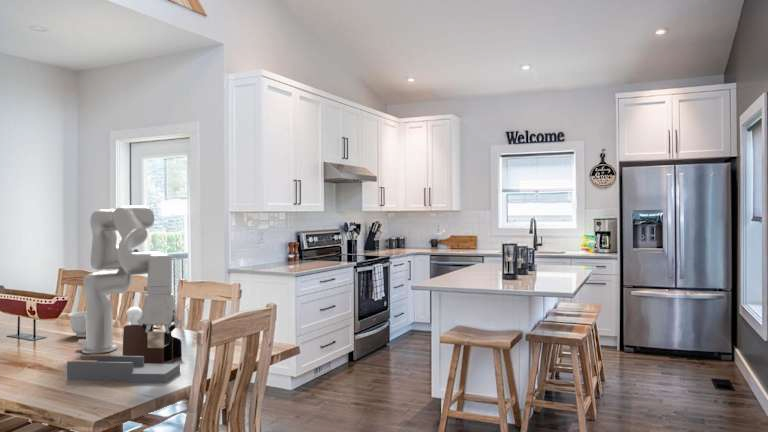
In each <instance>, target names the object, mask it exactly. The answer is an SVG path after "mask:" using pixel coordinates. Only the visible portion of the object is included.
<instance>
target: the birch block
mask: <svg viewBox="0 0 768 432" xmlns="http://www.w3.org/2000/svg"><path fill="white" fill-rule="evenodd" d="M165 333H166V331H165V329H162V328H159V329H154V330H152V331H150V332H148V348H163V347H165V346H167V345H164V334H165Z"/></svg>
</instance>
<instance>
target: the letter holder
mask: <svg viewBox="0 0 768 432" xmlns="http://www.w3.org/2000/svg"><path fill="white" fill-rule="evenodd" d="M154 329H160V327H156V326H153V330H154ZM182 348H183V347H182V339H180V338H178V337H176V336H175V337H174V336H173V335H172V334H171V342H170V343H169V344H168V345H167V346H165V347H163V348H148V341H147V333H146V332H145V330H144V329H143V328H142V326H141V325H139V324H137V325H131V324H128V325H125V326H124V327H123V335H122V356H144V364H146V363H151V364H174V363H175V362H178V361H181V360H182V359H183V357H182V356H183V354H182Z"/></svg>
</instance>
